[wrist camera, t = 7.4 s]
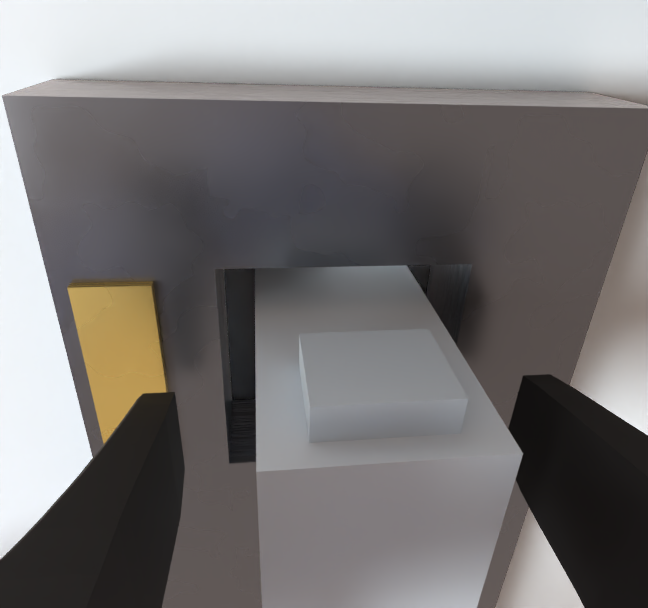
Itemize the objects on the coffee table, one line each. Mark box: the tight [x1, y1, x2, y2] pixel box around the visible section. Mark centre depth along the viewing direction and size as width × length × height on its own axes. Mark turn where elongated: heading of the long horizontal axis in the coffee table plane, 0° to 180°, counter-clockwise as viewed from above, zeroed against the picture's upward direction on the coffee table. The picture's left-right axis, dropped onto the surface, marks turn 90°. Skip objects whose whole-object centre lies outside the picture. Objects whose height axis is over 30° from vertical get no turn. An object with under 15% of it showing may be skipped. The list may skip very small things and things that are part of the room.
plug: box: [255, 265, 523, 608], centre depth 11 cm, size 4×5×7 cm
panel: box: [2, 79, 648, 608], centre depth 16 cm, size 12×24×3 cm, turn 178°
